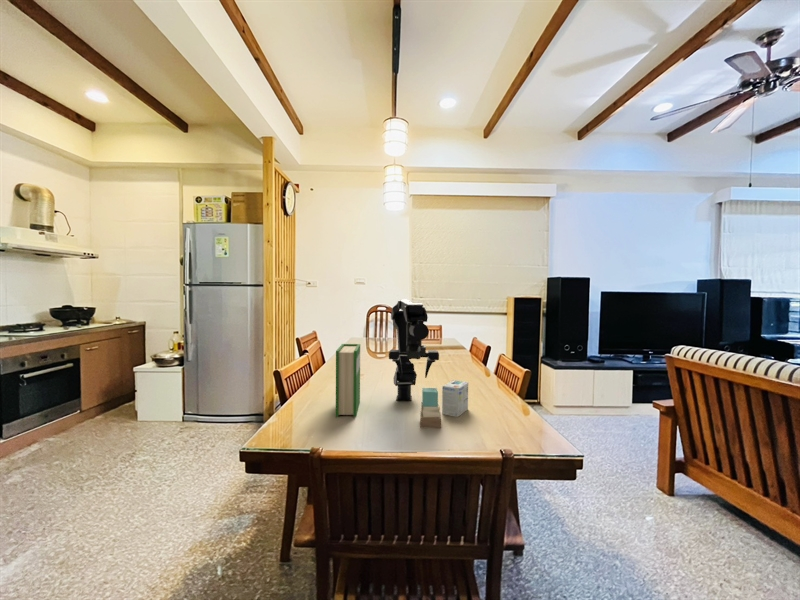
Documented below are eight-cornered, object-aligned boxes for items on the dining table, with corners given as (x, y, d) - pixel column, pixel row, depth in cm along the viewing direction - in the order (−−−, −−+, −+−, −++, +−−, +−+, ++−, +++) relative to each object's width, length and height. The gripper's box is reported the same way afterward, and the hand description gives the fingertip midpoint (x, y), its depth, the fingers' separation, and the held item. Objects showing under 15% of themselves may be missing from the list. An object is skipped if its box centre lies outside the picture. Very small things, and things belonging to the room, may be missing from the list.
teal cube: (423, 406, 122) (423, 391, 122) (422, 402, 127) (422, 387, 127) (437, 406, 122) (437, 392, 122) (436, 402, 127) (436, 388, 127)
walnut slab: (420, 421, 128) (420, 411, 128) (440, 421, 127) (440, 411, 127) (420, 428, 121) (420, 418, 121) (441, 429, 120) (441, 418, 120)
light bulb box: (452, 406, 144) (452, 379, 143) (468, 409, 140) (469, 381, 140) (441, 414, 134) (441, 385, 134) (458, 417, 131) (458, 388, 131)
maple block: (421, 412, 127) (421, 402, 127) (436, 411, 127) (436, 401, 127) (423, 417, 121) (423, 407, 121) (439, 417, 122) (439, 406, 122)
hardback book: (356, 417, 130) (356, 351, 130) (335, 417, 130) (335, 350, 130) (359, 402, 148) (360, 344, 147) (341, 402, 148) (342, 343, 147)
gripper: (387, 338, 129) (387, 382, 129) (440, 339, 128) (439, 383, 128) (390, 335, 140) (389, 375, 140) (438, 335, 139) (437, 376, 139)
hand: (413, 377), depth 137 cm, fingers open, 9 cm apart
